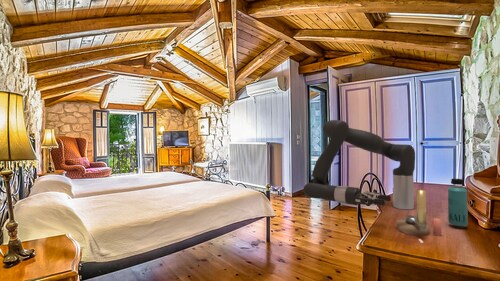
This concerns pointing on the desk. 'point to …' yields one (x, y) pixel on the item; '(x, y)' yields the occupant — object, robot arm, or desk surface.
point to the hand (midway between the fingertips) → (387, 200)
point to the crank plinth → (412, 228)
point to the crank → (419, 211)
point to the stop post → (437, 226)
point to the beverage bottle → (457, 204)
